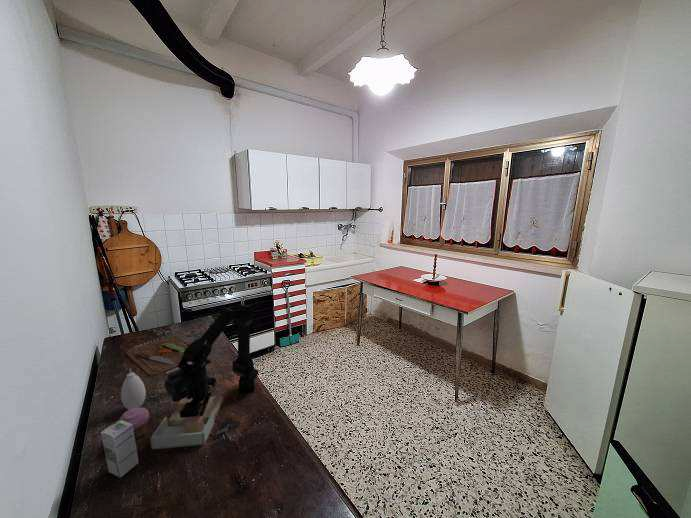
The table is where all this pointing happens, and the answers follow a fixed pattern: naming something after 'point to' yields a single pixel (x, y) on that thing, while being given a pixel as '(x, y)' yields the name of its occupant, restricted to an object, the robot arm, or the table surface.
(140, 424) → the cupcake
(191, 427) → the tile
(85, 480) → the table surface
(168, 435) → the tray
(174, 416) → the beige flat panel
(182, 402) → the tile
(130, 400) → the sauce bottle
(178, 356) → the chopping board
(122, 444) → the syrup box
